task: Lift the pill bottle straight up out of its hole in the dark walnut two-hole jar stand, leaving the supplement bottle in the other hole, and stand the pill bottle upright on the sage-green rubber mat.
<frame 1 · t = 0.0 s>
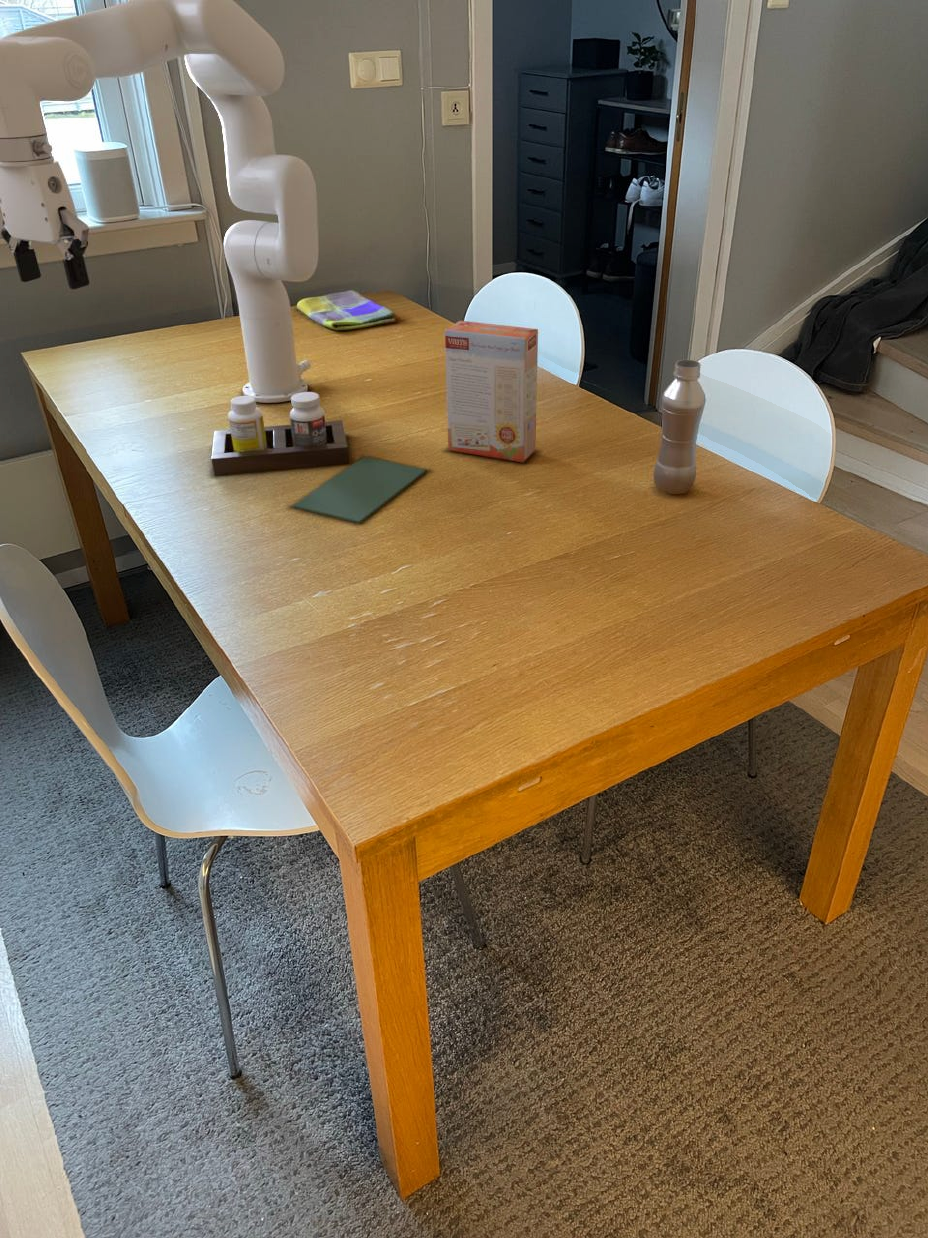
hand: (55, 283, 133), 31 cm above the table, tool pointing down, fingers open, 9 cm apart
mat: (362, 488, 147), on the table
supplement bottle: (252, 458, 157), resting in rack
rack: (281, 455, 158), on the table
pill bottle: (311, 453, 159), resting in rack
plastic bottle: (672, 490, 145), on the table
dish towel: (345, 316, 226), on the table
cracker box: (491, 452, 158), on the table
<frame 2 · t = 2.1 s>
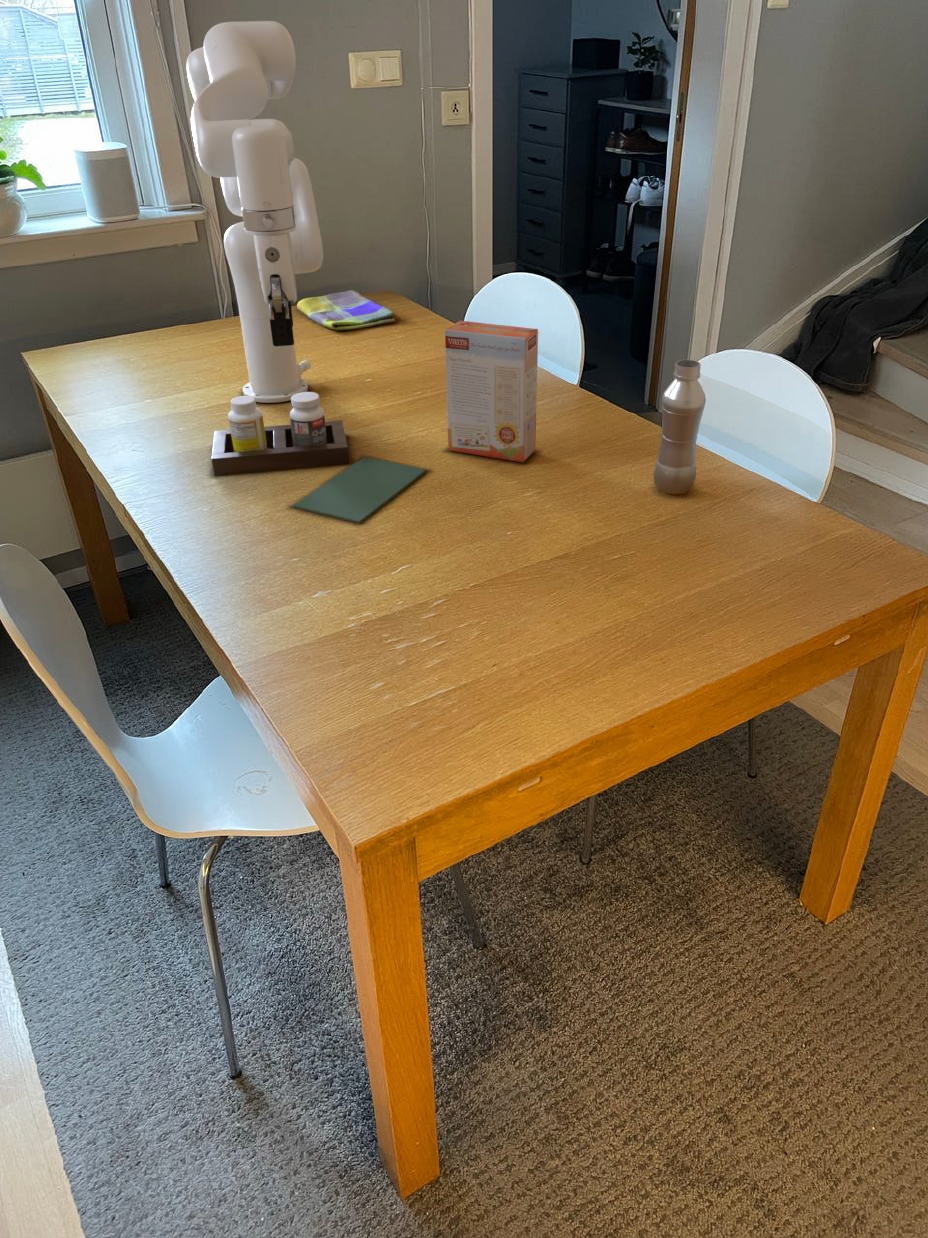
hand: (283, 335, 146), 20 cm above the table, tool pointing down, fingers open, 9 cm apart
nothing on the table moved.
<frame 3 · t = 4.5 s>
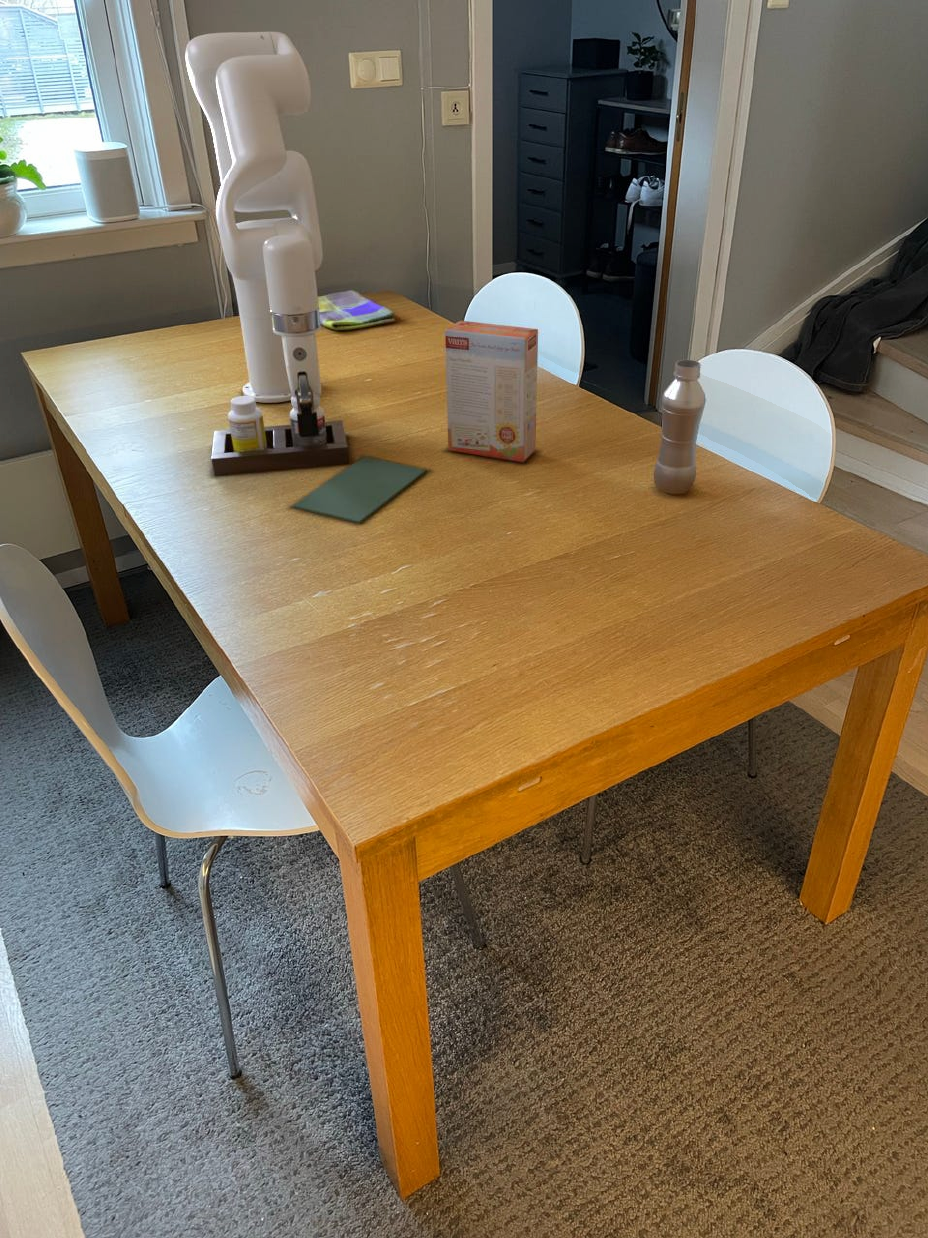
hand: (308, 427, 156), 5 cm above the table, tool pointing down, fingers closed on pill bottle, 5 cm apart
pill bottle: (311, 453, 159), resting in rack, touching gripper
everything else where it was.
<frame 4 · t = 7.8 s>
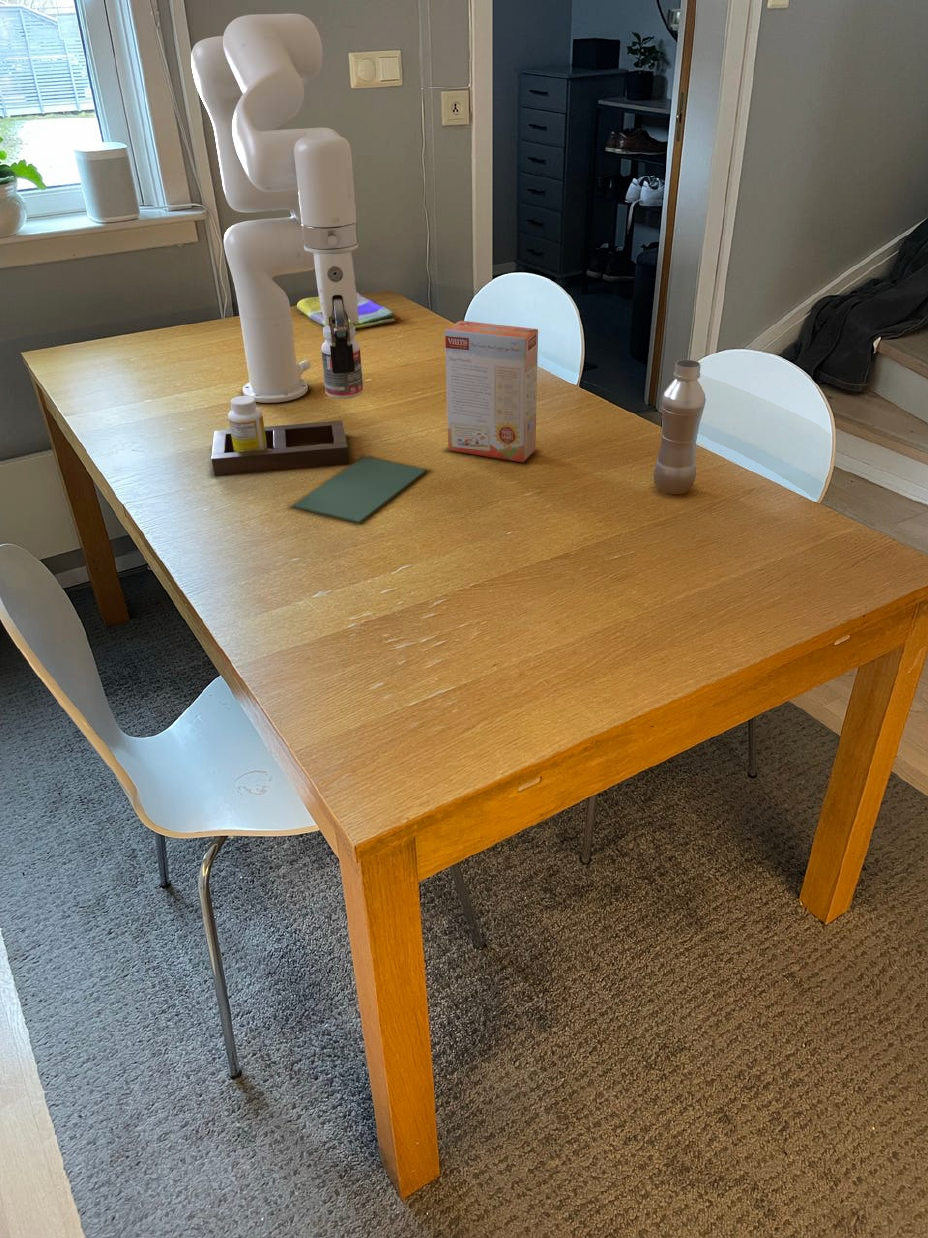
hand: (341, 363, 138), 19 cm above the table, tool pointing down, fingers closed on pill bottle, 5 cm apart
pill bottle: (344, 394, 140), point 15 cm above the table, touching gripper
everything else where it was.
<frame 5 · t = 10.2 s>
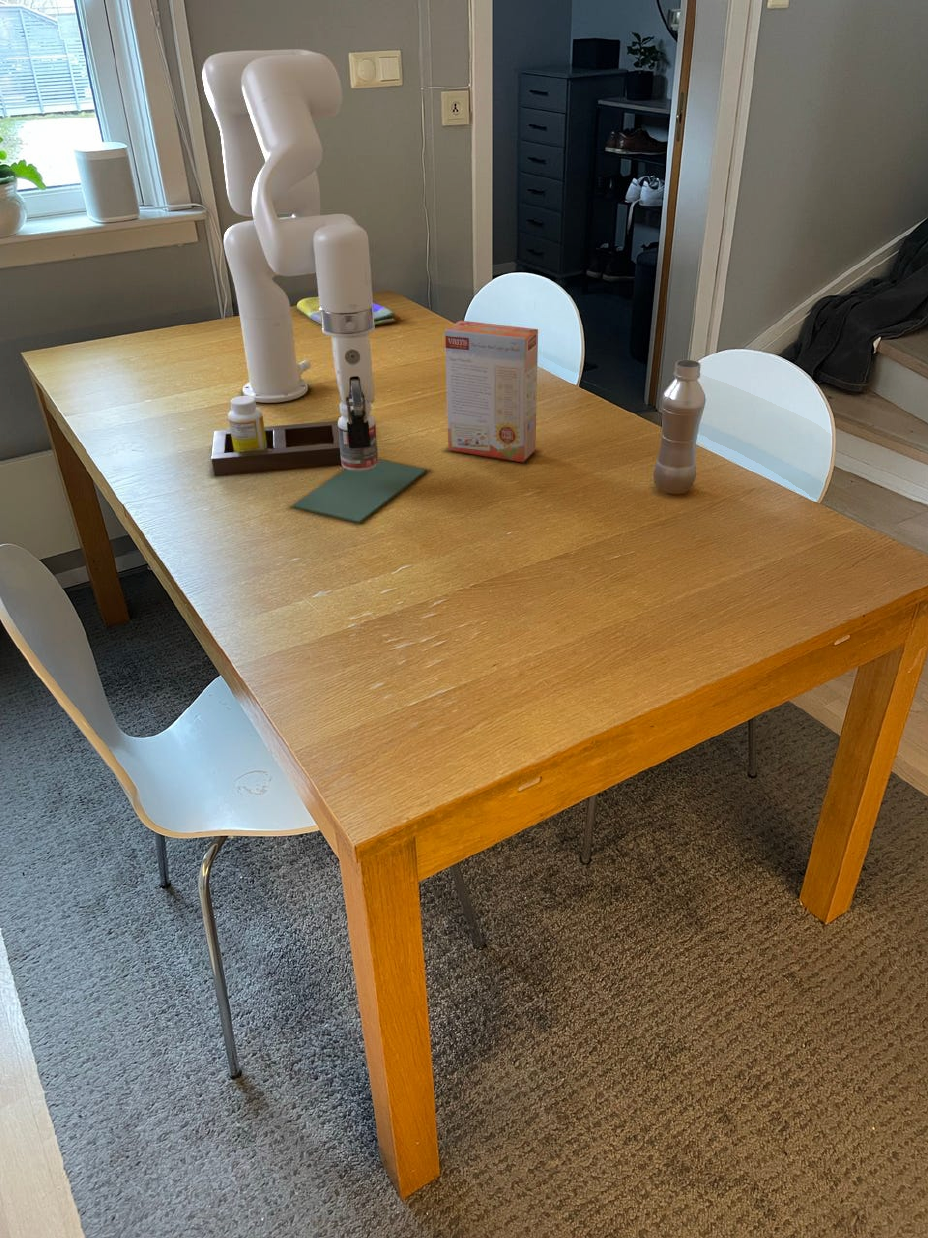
hand: (357, 437, 142), 9 cm above the table, tool pointing down, fingers closed on pill bottle, 5 cm apart
pill bottle: (360, 465, 144), point 4 cm above the table, touching gripper
everything else where it was.
when the fingers open (5 cm above the table, at t = 11.6 s): pill bottle stays where it is, resting on mat.
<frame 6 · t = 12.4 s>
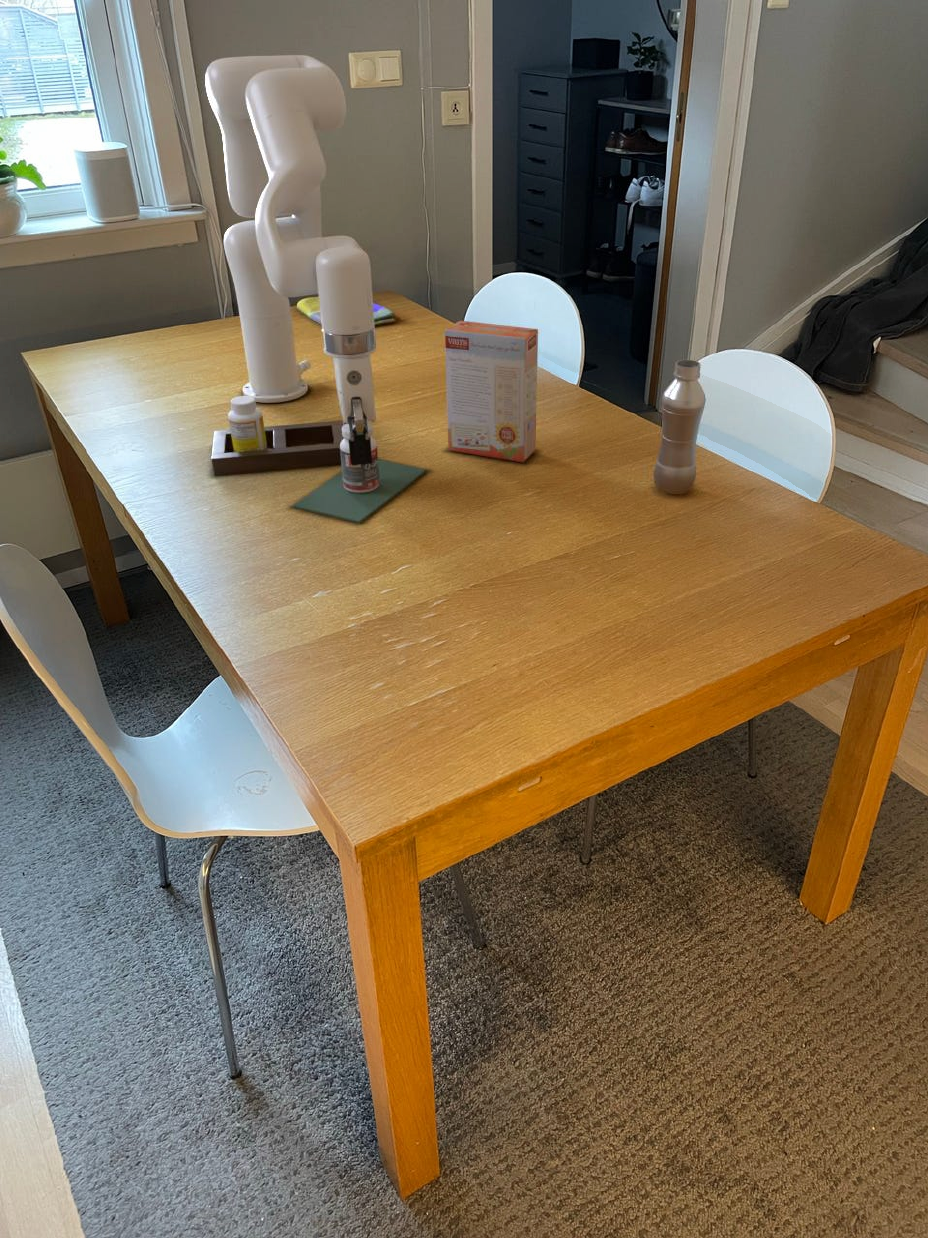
hand: (358, 450, 143), 6 cm above the table, tool pointing down, fingers open, 9 cm apart
pill bottle: (361, 487, 146), resting on mat
everything else where it was.
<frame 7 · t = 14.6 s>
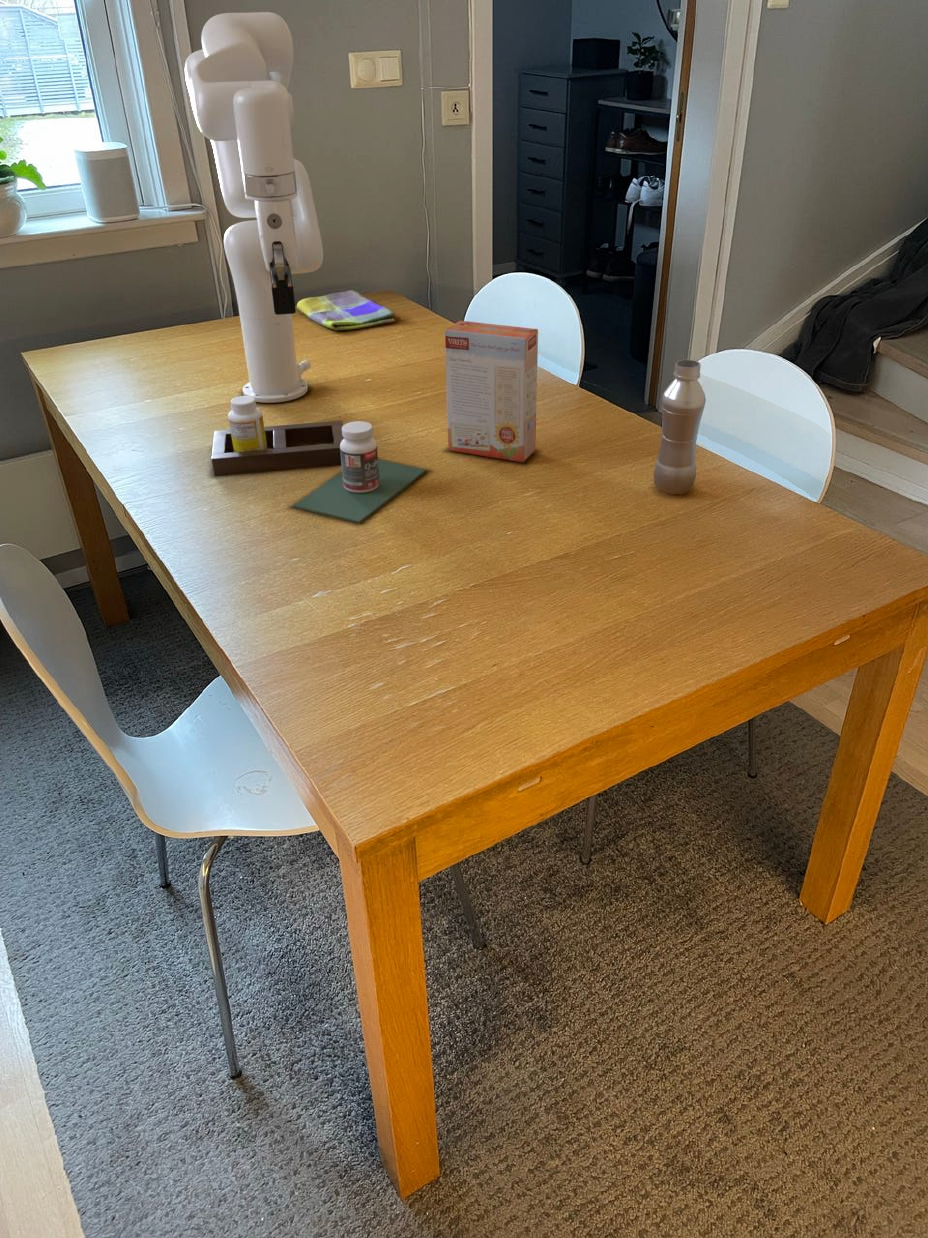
hand: (284, 303, 145), 25 cm above the table, tool pointing down, fingers open, 9 cm apart
nothing on the table moved.
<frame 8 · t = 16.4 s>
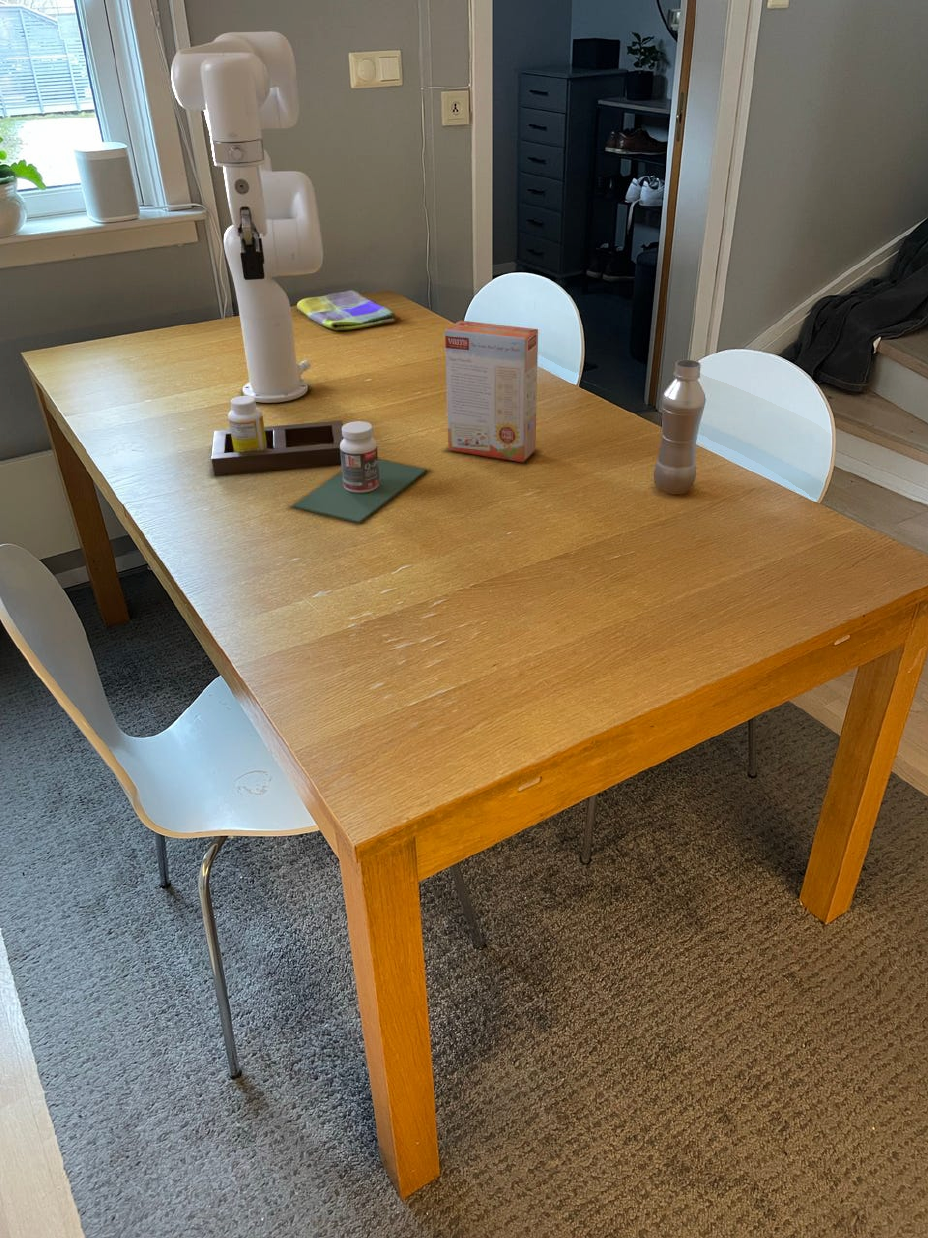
hand: (254, 271, 149), 28 cm above the table, tool pointing down, fingers open, 9 cm apart
nothing on the table moved.
at the end: pill bottle inside the target area on the mat (0.1 cm from its centre), point 0.2 cm above the mat's base; pill bottle tilted 0°; supplement bottle moved 0.2 cm from its start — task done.
